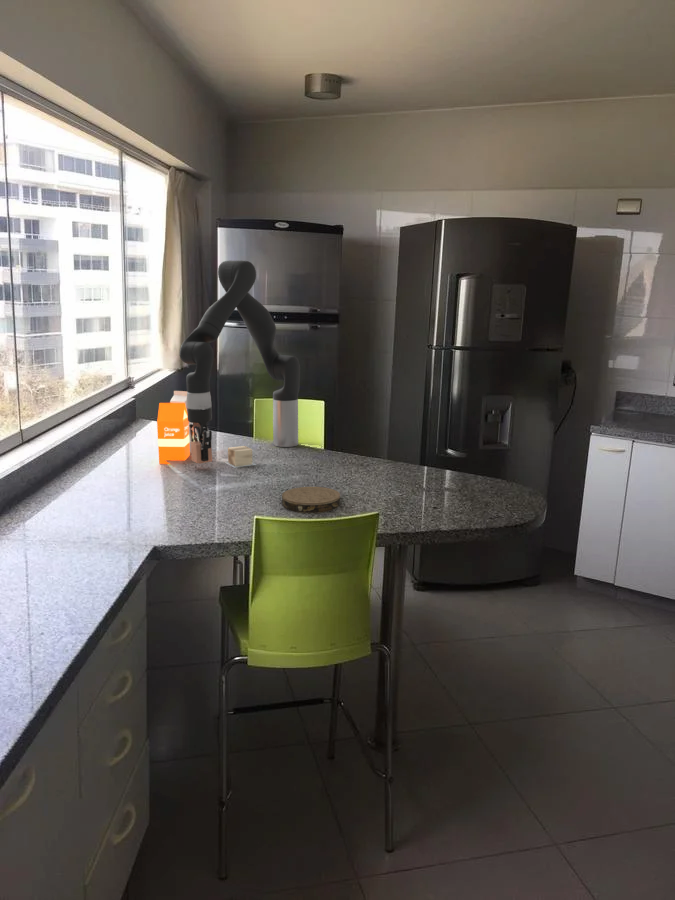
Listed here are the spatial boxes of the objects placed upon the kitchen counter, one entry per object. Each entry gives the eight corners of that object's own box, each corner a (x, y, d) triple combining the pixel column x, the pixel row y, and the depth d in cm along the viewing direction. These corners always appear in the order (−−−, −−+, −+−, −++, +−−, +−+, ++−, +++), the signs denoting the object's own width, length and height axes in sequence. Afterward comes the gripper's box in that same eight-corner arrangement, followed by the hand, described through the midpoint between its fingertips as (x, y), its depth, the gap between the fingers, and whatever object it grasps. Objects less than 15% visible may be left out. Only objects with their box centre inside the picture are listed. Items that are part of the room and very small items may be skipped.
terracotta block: (191, 460, 228) (190, 441, 226) (206, 458, 230) (205, 439, 229) (197, 463, 223) (196, 445, 222) (212, 461, 226) (211, 443, 224)
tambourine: (352, 505, 196) (352, 495, 195) (308, 518, 185) (308, 507, 184) (313, 493, 207) (313, 483, 206) (270, 504, 196) (270, 494, 196)
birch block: (228, 462, 235) (227, 447, 234) (245, 460, 238) (244, 445, 237) (235, 466, 230) (234, 451, 229) (252, 464, 233) (252, 449, 232)
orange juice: (185, 464, 238) (182, 405, 233) (158, 464, 238) (155, 404, 234) (190, 458, 246) (187, 401, 241) (164, 458, 246) (161, 400, 241)
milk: (180, 450, 258) (177, 389, 253) (195, 451, 257) (193, 390, 252) (172, 453, 253) (169, 391, 248) (187, 454, 251) (184, 392, 246)
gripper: (180, 403, 227) (182, 455, 231) (195, 410, 215) (198, 465, 219) (202, 401, 230) (205, 452, 234) (219, 408, 218) (221, 462, 222)
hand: (201, 458), depth 226 cm, fingers closed on terracotta block, 5 cm apart
